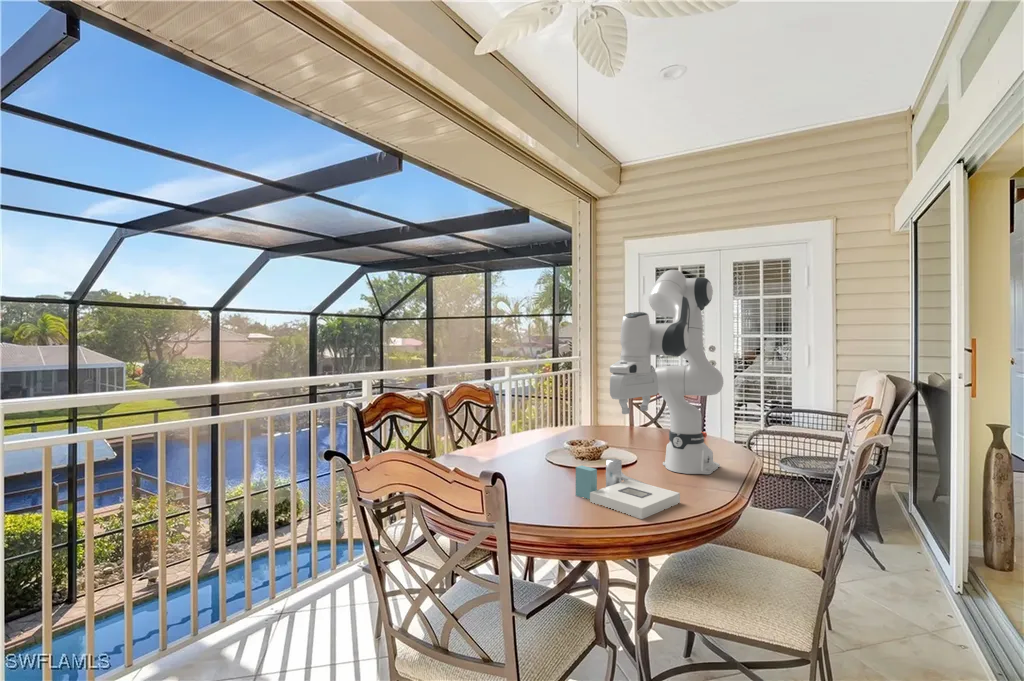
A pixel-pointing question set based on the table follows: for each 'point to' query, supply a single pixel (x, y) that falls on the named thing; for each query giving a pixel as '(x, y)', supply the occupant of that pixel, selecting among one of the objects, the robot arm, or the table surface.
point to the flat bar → (585, 481)
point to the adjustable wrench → (629, 478)
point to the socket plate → (635, 498)
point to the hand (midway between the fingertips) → (635, 412)
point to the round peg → (613, 471)
